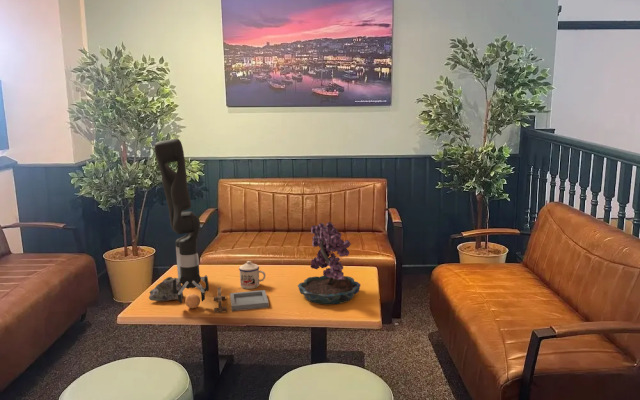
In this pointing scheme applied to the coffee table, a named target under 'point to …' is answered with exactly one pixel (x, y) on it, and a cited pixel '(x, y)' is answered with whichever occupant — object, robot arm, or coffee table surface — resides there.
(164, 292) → the mineral rock
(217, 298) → the fence
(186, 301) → the ball
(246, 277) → the teacup with lid
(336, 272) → the bonsai tree
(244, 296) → the tray
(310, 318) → the coffee table surface
